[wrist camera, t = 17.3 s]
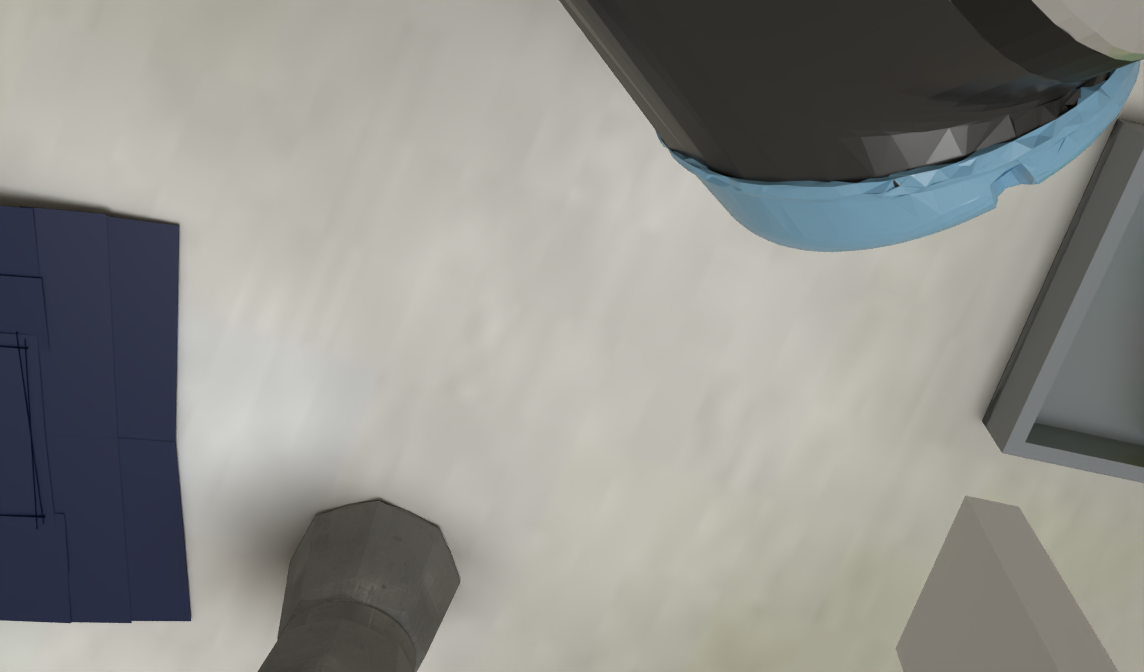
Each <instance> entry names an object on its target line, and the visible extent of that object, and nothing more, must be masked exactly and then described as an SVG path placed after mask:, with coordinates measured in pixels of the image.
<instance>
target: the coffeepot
mask: <svg viewBox="0 0 1144 672" xmlns="http://www.w3.org/2000/svg"><path fill="white" fill-rule="evenodd" d="M459 584H460V579H459V576H458V574H457V571H456V568H455V565H454V562H453V558H452V555H451V552H450V550H449V548H448V546H447V544H446V542H445V540H444V539H443V537H442V534H441V532H440V529H438V528H437V527H435V526H433V525H432V524H430V523H429V522H427V521H425V520H424V519H422V518H420V517H418V516H417V515H415V514H413V513H412V512H410V511H407V510H404V509H402V508H399V507H396V506H392V505H387V504H385V503H383V502H380V501H373V502H364V503H357V504H349V505H346V506H343V507H340V508H337V509H334V510H332V511H330V512H327V513H322V514H318V515H316V516H315V518H314V519H313V521H312V523H311V525H310V527H309V528H308V530H307V532H306V534H305V535H304V537H303V539H302V541H301V543H300V545H299V547H298V548H297V550H296V552H295V554H294V556H293V557H292V559H291V561H290V565H289V571H288V577H287V583H286V590H285V596H284V602H283V608H282V614H281V620H280V626H279V632H278V638H277V639H278V641H277V642H276V644H275V646H274V647H273V649H272V650H271V652H270V653H269V655H268V656H267V658H266V660H265V661H264V663H263V664H262V666H261V667H260V669H259V670H258V672H417V670H418V668H419V667H420V665H421V663H422V661H423V659H424V657H425V656H426V654H427V651H428V649H429V647H430V645H431V643H432V641H433V639H434V637H435V634H436V632H437V630H438V628H439V626H440V624H441V622H442V620H443V618H444V615H445V613H446V611H447V609H448V607H449V605H450V603H451V601H452V599H453V596H454V594H455V592H456V590H457V588H458V586H459Z"/></svg>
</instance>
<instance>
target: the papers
mask: <svg viewBox="0 0 1144 672" xmlns="http://www.w3.org/2000/svg"><path fill="white" fill-rule="evenodd" d="M178 254H179V226H178V225H170V224H162V223H154V222H146V221H138V220H130V219H122V218H114V217H107V215H106V214H100V213H88V212H77V211H66V210H54V209H43V208H32V207H21V206H19V207H9V206H0V620H7V621H31V622H56V623H71V622H99V623H132V622H131V621H191V614H190V603H189V592H188V580H187V569H186V557H185V546H184V534H183V523H182V512H181V500H180V489H179V477H178V466H177V454H176V443H175V431H176V372H177V313H178Z"/></svg>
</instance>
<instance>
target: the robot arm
mask: <svg viewBox="0 0 1144 672" xmlns="http://www.w3.org/2000/svg"><path fill="white" fill-rule="evenodd" d="M559 1H560V2H561V3H562V5H563V6H564V7H565V9H566V10H567V12H568V13H569V14H570V16H571V17H572V18H573V20H574V21H575V22H576V24H577V25H578V26H579V28H580V29H581V30H582V32H583V33H584V34H585V36H586V37H587V38H588V40H589V41H590V42H591V44H592V45H593V46H594V48H595V49H596V50H597V52H598V53H599V54H600V56H601V57H602V59H603V60H604V61H605V63H606V64H607V65H608V67H609V68H610V69H611V71H612V72H613V73H614V75H615V76H616V77H617V79H618V80H619V81H620V83H621V84H622V85H623V87H624V88H625V89H626V91H627V92H628V93H629V95H630V96H631V97H632V99H633V100H634V101H635V103H636V104H637V105H638V107H639V108H640V110H641V111H642V112H643V114H644V115H645V116H646V118H647V119H648V120H649V122H650V123H651V124H652V126H653V127H654V128H655V130H656V133H657V136H658V138H659V140H660V142H661V143H662V144H663V146H664V147H666V148H668V150H669V151H670V153H671V155H672V157H673V158H674V159H675V160H676V161H677V162H678V163H679V164H681V165H682V166H683V167H684V168H686V169H687V170H688V171H690V172H692V173H693V174H695V175H696V176H697V177H698V178H699V179H700V180H701V182H702V183H703V184H704V185H705V186H706V187H707V188H708V190H709V191H710V192H711V193H712V194H713V195H714V196H715V198H716V199H717V200H718V201H719V202H720V203H721V204H722V206H723V207H724V208H725V209H726V210H727V211H728V212H729V213H730V215H731V216H732V217H733V218H734V219H735V220H736V221H738V222H739V223H740V224H741V225H743V226H744V227H745V228H747V229H748V230H749V231H751V232H752V233H754V234H756V235H758V236H760V237H762V238H764V239H766V240H768V241H771V242H773V243H776V244H779V245H782V246H786V247H790V248H795V249H800V250H807V251H818V252H841V251H856V250H865V249H873V248H879V247H885V246H890V245H894V244H899V243H903V242H907V241H911V240H914V239H918V238H921V237H924V236H928V235H931V234H934V233H937V232H940V231H942V230H945V229H948V228H951V227H953V226H956V225H958V224H961V223H963V222H966V221H968V220H970V219H972V218H975V217H977V216H979V215H981V214H983V213H985V212H987V211H990V210H992V209H994V208H996V204H997V197H998V196H999V195H1000V194H1001V193H1002V192H1003V191H1004V190H1005V189H1006V188H1008V187H1012V186H1016V185H1019V184H1039V183H1041V182H1042V181H1044V180H1045V179H1047V178H1048V177H1050V176H1051V175H1053V174H1054V173H1056V172H1057V171H1059V170H1060V169H1061V168H1063V167H1064V166H1065V165H1067V164H1068V163H1069V162H1071V161H1072V160H1073V159H1075V158H1076V157H1077V156H1078V155H1080V154H1081V153H1082V152H1083V151H1084V150H1085V149H1086V148H1087V147H1089V146H1090V145H1091V144H1092V143H1093V142H1094V141H1095V140H1096V139H1097V137H1098V136H1099V135H1100V134H1101V133H1102V132H1103V131H1104V130H1105V129H1106V128H1107V127H1108V126H1109V125H1110V123H1111V122H1112V121H1113V120H1114V119H1115V118H1116V117H1117V116H1118V114H1119V112H1120V111H1121V109H1122V107H1123V105H1124V103H1125V102H1126V100H1127V98H1128V96H1129V94H1130V92H1131V90H1132V88H1133V86H1134V84H1135V82H1136V79H1137V76H1138V73H1139V68H1140V60H1142V59H1144V0H559ZM896 651H897V654H898V657H899V659H900V662H901V665H902V668H903V671H904V672H1118V670H1117V669H1116V667H1115V665H1114V664H1113V662H1112V660H1111V659H1110V657H1109V655H1108V654H1107V652H1106V650H1105V649H1104V647H1103V645H1102V644H1101V642H1100V640H1099V639H1098V637H1097V635H1096V634H1095V632H1094V630H1093V629H1092V627H1091V625H1090V624H1089V622H1088V621H1087V619H1086V617H1085V616H1084V614H1083V612H1082V611H1081V609H1080V607H1079V606H1078V604H1077V602H1076V601H1075V599H1074V597H1073V596H1072V594H1071V592H1070V591H1069V589H1068V587H1067V586H1066V584H1065V582H1064V581H1063V579H1062V577H1061V576H1060V574H1059V572H1058V571H1057V569H1056V567H1055V566H1054V564H1053V563H1052V561H1051V559H1050V558H1049V556H1048V554H1047V553H1046V551H1045V549H1044V548H1043V546H1042V544H1041V543H1040V541H1039V539H1038V538H1037V536H1036V534H1035V533H1034V531H1033V529H1032V528H1031V526H1030V524H1029V523H1028V521H1027V519H1026V518H1025V516H1024V514H1023V513H1022V511H1021V509H1020V508H1019V507H1017V506H1013V505H1008V504H1003V503H998V502H993V501H989V500H984V499H979V498H974V497H970V496H965V498H964V500H963V502H962V504H961V507H960V509H959V511H958V513H957V515H956V518H955V520H954V522H953V524H952V526H951V528H950V531H949V533H948V535H947V537H946V539H945V542H944V544H943V546H942V548H941V550H940V553H939V555H938V557H937V559H936V561H935V564H934V566H933V568H932V570H931V572H930V574H929V577H928V579H927V581H926V583H925V585H924V588H923V590H922V592H921V594H920V596H919V599H918V601H917V603H916V605H915V607H914V610H913V612H912V614H911V616H910V618H909V620H908V623H907V625H906V627H905V629H904V631H903V634H902V636H901V638H900V640H899V642H898V645H897V647H896Z"/></svg>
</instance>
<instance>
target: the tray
mask: <svg viewBox="0 0 1144 672" xmlns="http://www.w3.org/2000/svg"><path fill="white" fill-rule="evenodd" d="M982 422H983V423H984V425H985V426H986V428H987V430H988V431H989V433H990V434H991V436H992V438H993V439H994V441H995V442H996V444H997V446H998V447H999V449H1000V450H1001V452H1002V453H1004V454H1009V455H1014V456H1019V457H1023V458H1028V459H1033V460H1038V461H1042V462H1047V463H1052V464H1056V465H1061V466H1066V467H1071V468H1075V469H1080V470H1085V471H1089V472H1094V473H1099V474H1104V475H1108V476H1113V477H1118V478H1122V479H1127V480H1132V481H1137V482H1141V483H1144V125H1142V124H1137V123H1133V122H1129V121H1125V120H1120V119H1118V120H1117V122H1116V124H1115V126H1114V128H1113V131H1112V133H1111V135H1110V137H1109V140H1108V142H1107V144H1106V146H1105V149H1104V151H1103V153H1102V155H1101V157H1100V160H1099V162H1098V164H1097V166H1096V169H1095V171H1094V173H1093V175H1092V178H1091V180H1090V182H1089V184H1088V186H1087V189H1086V191H1085V193H1084V195H1083V198H1082V200H1081V202H1080V204H1079V207H1078V209H1077V211H1076V213H1075V215H1074V218H1073V220H1072V222H1071V224H1070V227H1069V229H1068V231H1067V233H1066V236H1065V238H1064V240H1063V242H1062V244H1061V247H1060V249H1059V251H1058V253H1057V256H1056V258H1055V260H1054V262H1053V265H1052V267H1051V269H1050V271H1049V273H1048V276H1047V278H1046V280H1045V282H1044V285H1043V287H1042V289H1041V291H1040V294H1039V296H1038V298H1037V300H1036V302H1035V305H1034V307H1033V309H1032V311H1031V314H1030V316H1029V318H1028V320H1027V323H1026V325H1025V327H1024V329H1023V331H1022V334H1021V336H1020V338H1019V340H1018V343H1017V345H1016V347H1015V349H1014V352H1013V354H1012V356H1011V358H1010V360H1009V363H1008V365H1007V367H1006V369H1005V372H1004V374H1003V376H1002V378H1001V381H1000V383H999V385H998V387H997V389H996V392H995V394H994V396H993V398H992V401H991V403H990V405H989V407H988V410H987V412H986V414H985V416H984V418H983V421H982Z"/></svg>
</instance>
